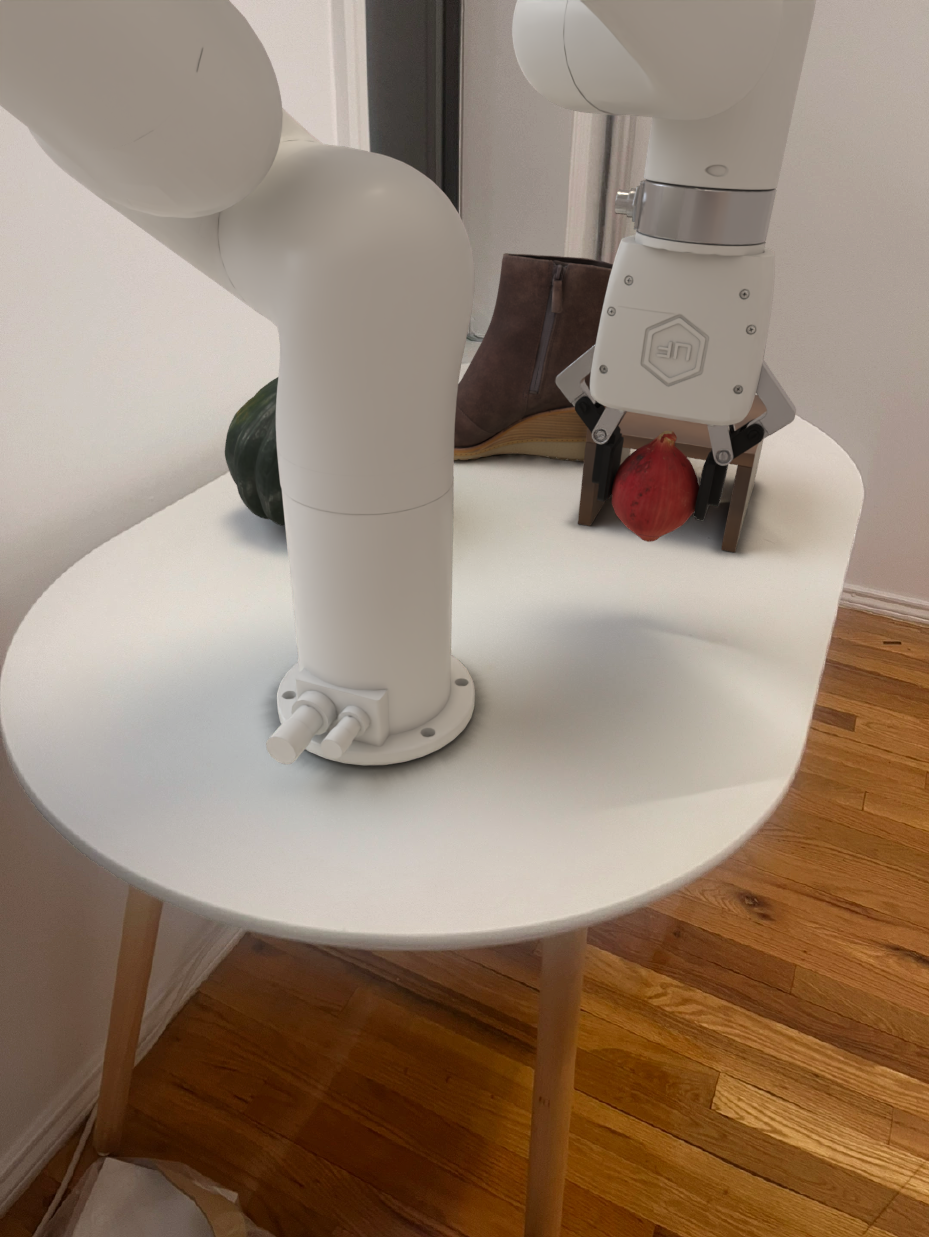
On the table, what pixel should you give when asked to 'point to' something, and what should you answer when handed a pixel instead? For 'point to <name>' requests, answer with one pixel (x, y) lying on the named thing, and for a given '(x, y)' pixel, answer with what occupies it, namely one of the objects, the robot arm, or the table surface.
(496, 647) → the table surface
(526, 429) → the boot
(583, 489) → the walnut shelf
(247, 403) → the squash
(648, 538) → the onion
